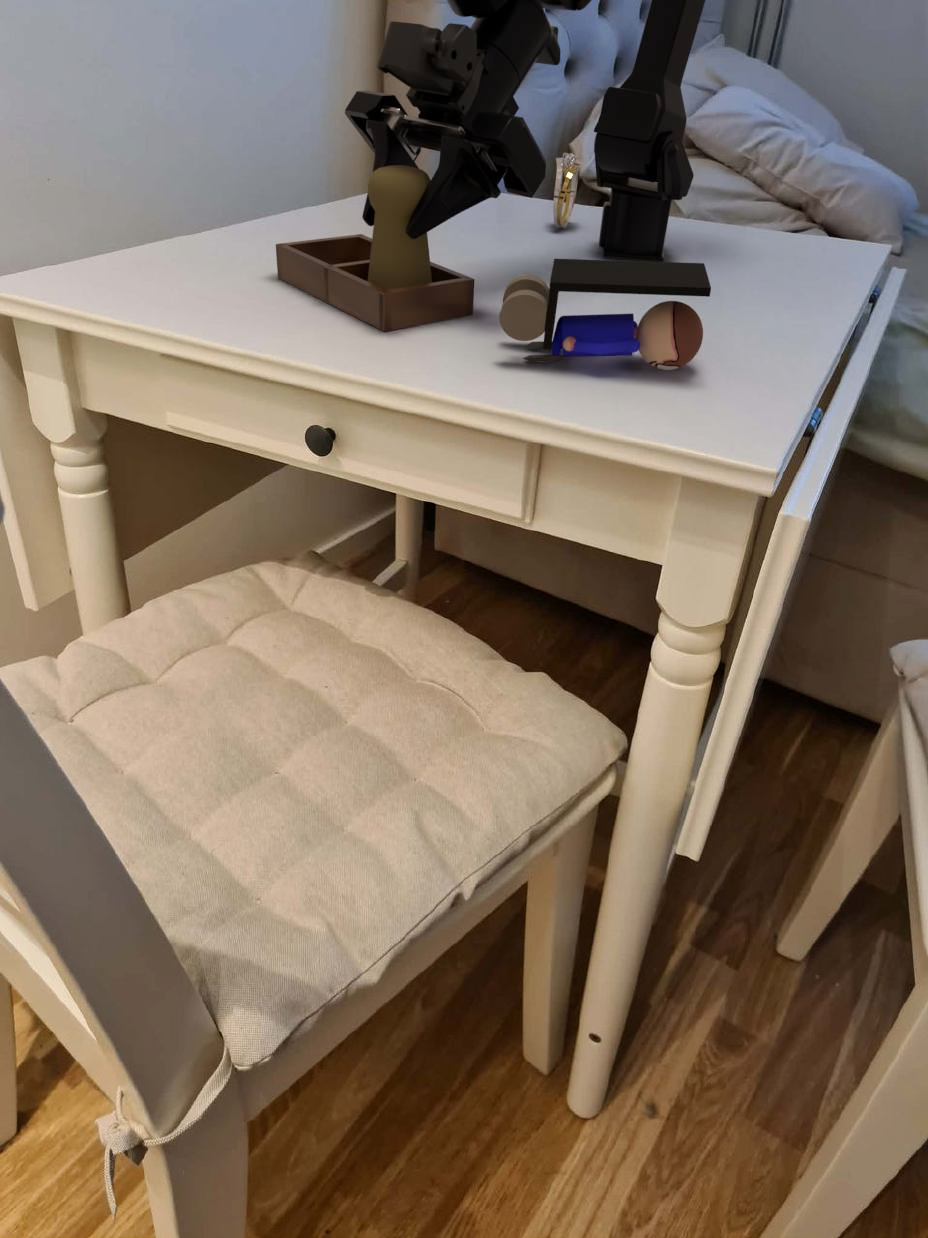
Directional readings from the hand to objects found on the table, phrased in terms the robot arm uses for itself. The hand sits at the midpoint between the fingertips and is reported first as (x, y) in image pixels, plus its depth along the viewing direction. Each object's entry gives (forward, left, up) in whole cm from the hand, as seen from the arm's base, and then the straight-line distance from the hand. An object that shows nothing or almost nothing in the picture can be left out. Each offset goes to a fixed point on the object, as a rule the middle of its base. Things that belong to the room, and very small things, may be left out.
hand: (387, 228), depth 72 cm
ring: (-14, -38, -7) cm, 41 cm away
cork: (-1, -1, -7) cm, 7 cm away
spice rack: (+2, -4, -7) cm, 8 cm away
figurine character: (-18, +8, -7) cm, 21 cm away
